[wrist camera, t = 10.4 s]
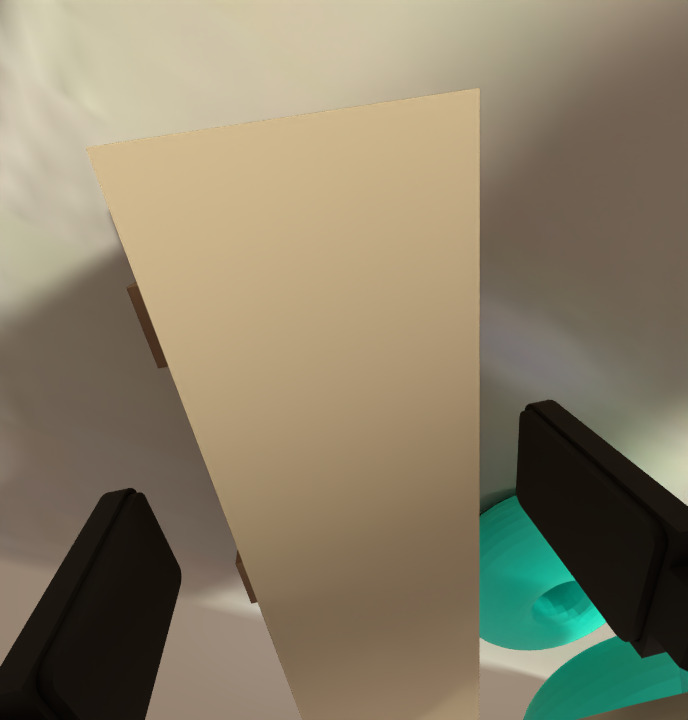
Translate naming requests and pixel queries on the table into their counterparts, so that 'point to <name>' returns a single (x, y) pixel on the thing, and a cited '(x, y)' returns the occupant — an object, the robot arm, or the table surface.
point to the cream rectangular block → (331, 379)
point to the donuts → (557, 623)
